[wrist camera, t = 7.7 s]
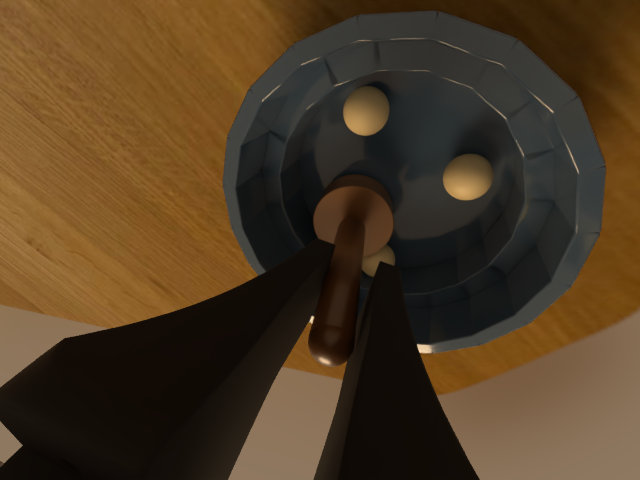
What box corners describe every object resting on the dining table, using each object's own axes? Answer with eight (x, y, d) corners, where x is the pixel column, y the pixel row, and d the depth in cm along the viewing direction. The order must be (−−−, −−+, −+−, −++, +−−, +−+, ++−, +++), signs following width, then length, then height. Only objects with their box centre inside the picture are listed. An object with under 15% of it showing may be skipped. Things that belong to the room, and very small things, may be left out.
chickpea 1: (366, 152, 13) (401, 123, 12) (333, 127, 12) (368, 94, 11) (364, 124, 14) (397, 96, 13) (334, 100, 13) (366, 66, 12)
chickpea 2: (399, 248, 16) (396, 282, 16) (366, 247, 17) (362, 279, 17) (393, 237, 15) (389, 273, 14) (357, 236, 16) (352, 271, 15)
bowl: (553, 275, 15) (591, 362, 11) (321, 286, 20) (289, 346, 16) (554, -48, 9) (630, -110, 6) (242, 84, 15) (166, 100, 11)
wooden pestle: (401, 232, 15) (420, 402, 8) (333, 248, 17) (290, 410, 9) (381, 163, 14) (381, 290, 6) (308, 186, 15) (231, 317, 7)
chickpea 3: (492, 185, 13) (498, 203, 11) (446, 193, 14) (445, 210, 12) (489, 143, 12) (494, 156, 11) (440, 153, 13) (439, 167, 12)
